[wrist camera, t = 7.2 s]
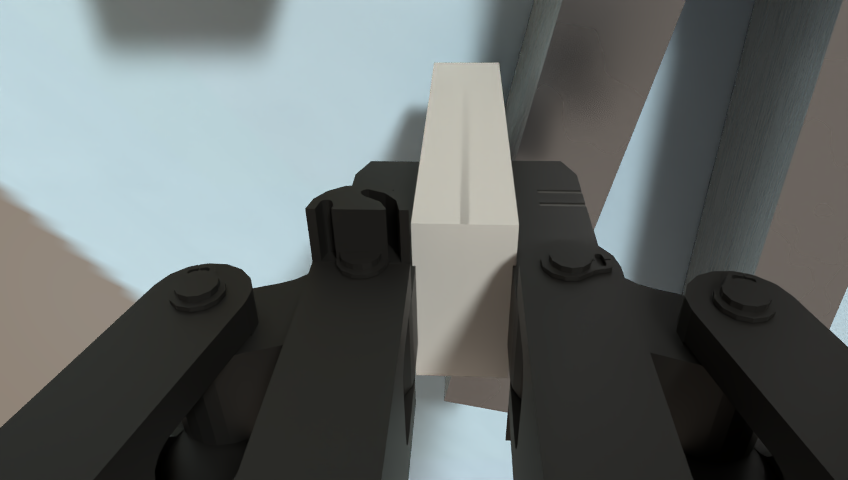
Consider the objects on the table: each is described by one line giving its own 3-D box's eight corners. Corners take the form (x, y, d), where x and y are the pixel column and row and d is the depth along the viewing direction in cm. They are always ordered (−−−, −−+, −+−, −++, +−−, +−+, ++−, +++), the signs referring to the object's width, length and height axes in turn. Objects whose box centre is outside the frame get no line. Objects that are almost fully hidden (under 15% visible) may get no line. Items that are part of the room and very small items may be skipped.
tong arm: (729, -717, 9) (877, -1030, 6) (867, -681, 9) (1093, -967, 6) (449, 312, 19) (443, 415, 16) (513, 324, 20) (520, 429, 16)
